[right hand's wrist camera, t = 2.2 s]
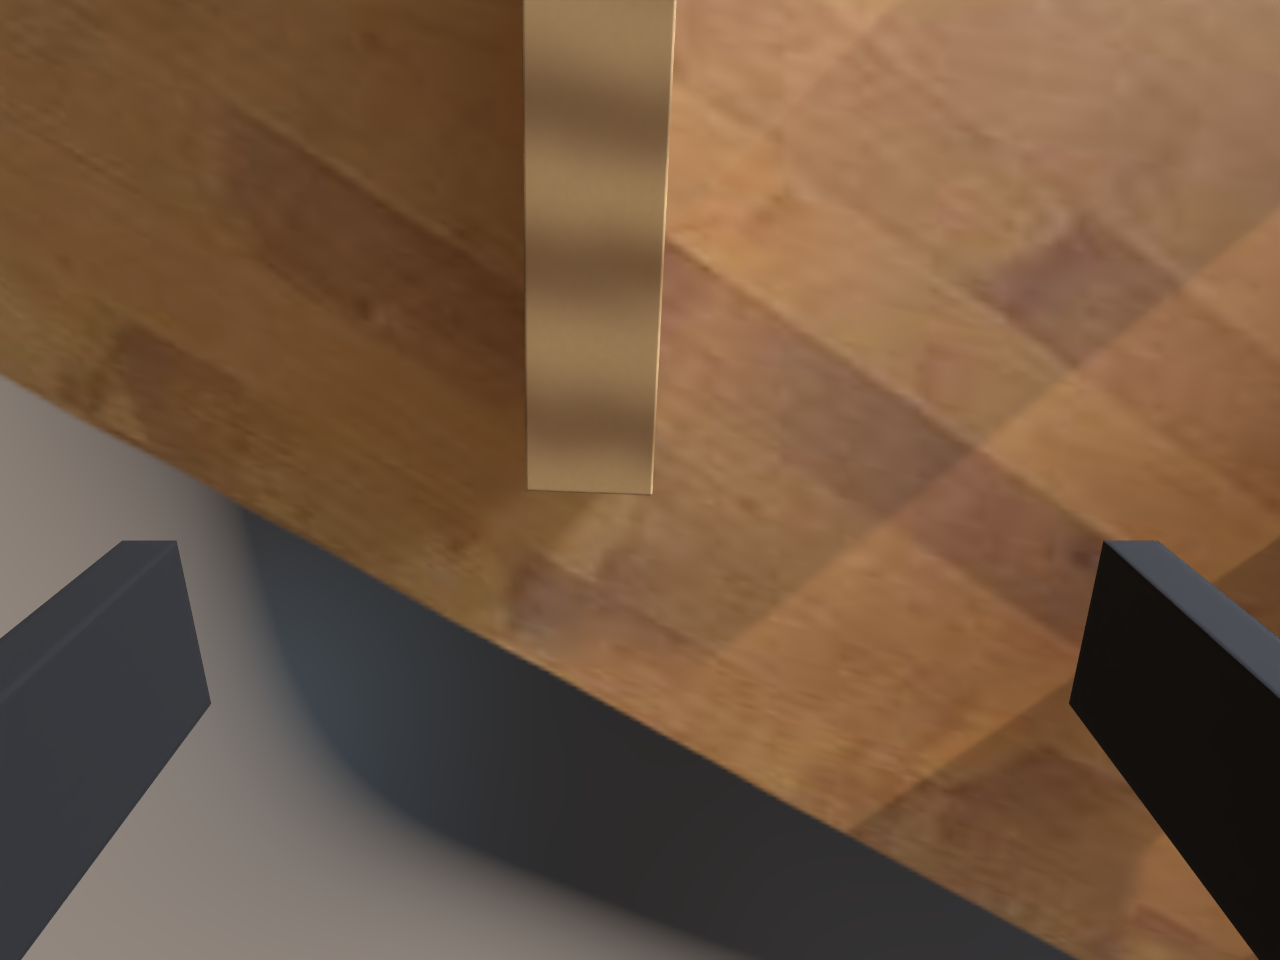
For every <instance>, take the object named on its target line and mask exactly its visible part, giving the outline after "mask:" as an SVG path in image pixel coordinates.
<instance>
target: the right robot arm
mask: <svg viewBox="0 0 1280 960" xmlns="http://www.w3.org/2000/svg"><path fill="white" fill-rule="evenodd" d="M210 704H211V702H210V697H209V692H208V687H207V683H206V678H205V673H204V668H203V664H202V659H201V654H200V650H199V645H198V640H197V635H196V631H195V626H194V621H193V617H192V612H191V607H190V602H189V598H188V593H187V588H186V584H185V579H184V574H183V569H182V565H181V560H180V555H179V550H178V546H177V541H121V542H120V543H119V544H118V545H116V546H115V547H114V548H113V549H111V550H110V551H109V552H108V553H106V554H105V555H104V556H103V557H101V558H100V559H99V560H98V561H96V562H95V563H94V564H93V565H91V566H90V567H89V568H88V569H87V570H85V571H84V572H83V573H82V574H80V575H79V576H78V577H77V578H75V579H74V580H73V581H72V582H70V583H69V584H68V585H67V586H65V587H64V588H63V589H62V590H60V591H59V592H58V593H57V594H55V595H54V596H53V597H52V598H50V599H49V600H48V601H47V602H45V603H44V604H43V605H42V606H40V607H39V608H38V609H37V610H35V611H34V612H33V613H32V614H30V615H29V616H28V617H27V618H25V619H24V620H23V621H22V622H20V623H19V624H18V625H17V626H15V627H14V628H13V629H12V630H10V631H9V632H8V633H7V634H5V635H4V636H3V637H2V638H0V960H21V959H22V958H23V956H24V955H25V954H26V952H27V951H28V950H29V948H30V947H31V946H32V944H33V943H34V942H35V940H36V939H37V938H38V936H39V935H40V933H41V932H42V931H43V929H44V928H45V927H46V925H47V924H48V923H49V921H50V920H51V919H52V917H53V916H54V915H55V913H56V912H57V911H58V909H59V908H60V907H61V905H62V904H63V902H64V901H65V900H66V898H67V897H68V896H69V894H70V893H71V892H72V890H73V889H74V888H75V886H76V885H77V884H78V882H79V881H80V880H81V878H82V877H83V876H84V874H85V873H86V871H87V870H88V869H89V867H90V866H91V865H92V863H93V862H94V861H95V859H96V858H97V857H98V855H99V854H100V853H101V851H102V850H103V849H104V847H105V846H106V844H107V843H108V842H109V840H110V839H111V838H112V836H113V835H114V834H115V832H116V831H117V830H118V828H119V827H120V826H121V824H122V823H123V822H124V820H125V819H126V818H127V816H128V815H129V813H130V812H131V811H132V809H133V808H134V807H135V805H136V804H137V803H138V801H139V800H140V799H141V797H142V796H143V795H144V793H145V792H146V791H147V789H148V788H149V787H150V785H151V784H152V783H153V781H154V780H155V778H156V777H157V776H158V774H159V773H160V772H161V770H162V769H163V768H164V766H165V765H166V764H167V762H168V761H169V760H170V758H171V757H172V756H173V754H174V753H175V751H176V750H177V749H178V748H179V746H180V745H181V743H182V742H183V741H184V739H185V738H186V737H187V735H188V734H189V733H190V731H191V730H192V729H193V727H194V726H195V725H196V723H197V722H198V721H199V719H200V718H201V717H202V715H203V714H204V712H205V711H206V710H207V708H208V707H209V706H210ZM1069 704H1070V706H1071V707H1072V708H1073V710H1074V711H1075V712H1076V714H1077V715H1078V717H1079V718H1080V719H1081V721H1082V722H1083V723H1084V725H1085V726H1086V727H1087V729H1088V730H1089V731H1090V733H1091V734H1092V735H1093V737H1094V738H1095V739H1096V741H1097V742H1098V743H1099V745H1100V746H1101V748H1102V749H1103V750H1104V752H1105V753H1106V754H1107V756H1108V757H1109V758H1110V760H1111V761H1112V762H1113V764H1114V765H1115V766H1116V768H1117V769H1118V770H1119V772H1120V773H1121V774H1122V776H1123V777H1124V779H1125V780H1126V781H1127V783H1128V784H1129V785H1130V787H1131V788H1132V789H1133V791H1134V792H1135V793H1136V795H1137V796H1138V797H1139V799H1140V800H1141V801H1142V803H1143V804H1144V805H1145V807H1146V808H1147V809H1148V811H1149V812H1150V814H1151V815H1152V816H1153V818H1154V819H1155V820H1156V822H1157V823H1158V824H1159V826H1160V827H1161V828H1162V830H1163V831H1164V832H1165V834H1166V835H1167V836H1168V838H1169V839H1170V840H1171V842H1172V843H1173V845H1174V846H1175V847H1176V849H1177V850H1178V851H1179V853H1180V854H1181V855H1182V857H1183V858H1184V859H1185V861H1186V862H1187V863H1188V865H1189V866H1190V867H1191V869H1192V870H1193V871H1194V873H1195V874H1196V876H1197V877H1198V878H1199V880H1200V881H1201V882H1202V884H1203V885H1204V886H1205V888H1206V889H1207V890H1208V892H1209V893H1210V894H1211V896H1212V897H1213V898H1214V900H1215V901H1216V902H1217V904H1218V905H1219V907H1220V908H1221V909H1222V911H1223V912H1224V913H1225V915H1226V916H1227V917H1228V919H1229V920H1230V921H1231V923H1232V924H1233V925H1234V927H1235V928H1236V929H1237V931H1238V932H1239V933H1240V935H1241V936H1242V938H1243V939H1244V940H1245V942H1246V943H1247V944H1248V946H1249V947H1250V948H1251V950H1252V951H1253V952H1254V954H1255V955H1256V956H1257V958H1258V959H1259V960H1280V638H1278V637H1277V636H1276V635H1275V634H1273V633H1272V632H1271V631H1270V630H1268V629H1267V628H1266V627H1265V626H1263V625H1262V624H1261V623H1260V622H1258V621H1257V620H1256V619H1255V618H1253V617H1252V616H1251V615H1250V614H1248V613H1247V612H1246V611H1245V610H1243V609H1242V608H1241V607H1240V606H1238V605H1237V604H1236V603H1235V602H1233V601H1232V600H1231V599H1230V598H1228V597H1227V596H1226V595H1225V594H1223V593H1222V592H1221V591H1220V590H1218V589H1217V588H1216V587H1215V586H1213V585H1212V584H1211V583H1210V582H1208V581H1207V580H1206V579H1205V578H1203V577H1202V576H1201V575H1200V574H1198V573H1197V572H1196V571H1195V570H1194V569H1192V568H1191V567H1190V566H1189V565H1187V564H1186V563H1185V562H1184V561H1182V560H1181V559H1180V558H1179V557H1177V556H1176V555H1175V554H1174V553H1172V552H1171V551H1170V550H1169V549H1167V548H1166V547H1165V546H1164V545H1162V544H1161V543H1160V542H1159V541H1103V546H1102V550H1101V555H1100V560H1099V565H1098V569H1097V574H1096V579H1095V583H1094V588H1093V593H1092V598H1091V602H1090V607H1089V612H1088V616H1087V621H1086V626H1085V631H1084V635H1083V640H1082V645H1081V650H1080V654H1079V659H1078V664H1077V668H1076V673H1075V678H1074V683H1073V687H1072V692H1071V697H1070V701H1069Z"/></svg>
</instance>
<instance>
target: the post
mask: <svg viewBox="0 0 1280 960" xmlns="http://www.w3.org/2000/svg"><path fill="white" fill-rule="evenodd" d="M675 19H676V0H522V35H523V166H524V297H525V428H526V489H527V490H531V491H556V492H581V493H606V494H631V495H652V490H653V469H654V449H655V428H656V408H657V387H658V367H659V346H660V326H661V305H662V285H663V264H664V244H665V223H666V203H667V183H668V162H669V142H670V121H671V101H672V80H673V60H674V39H675Z"/></svg>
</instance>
